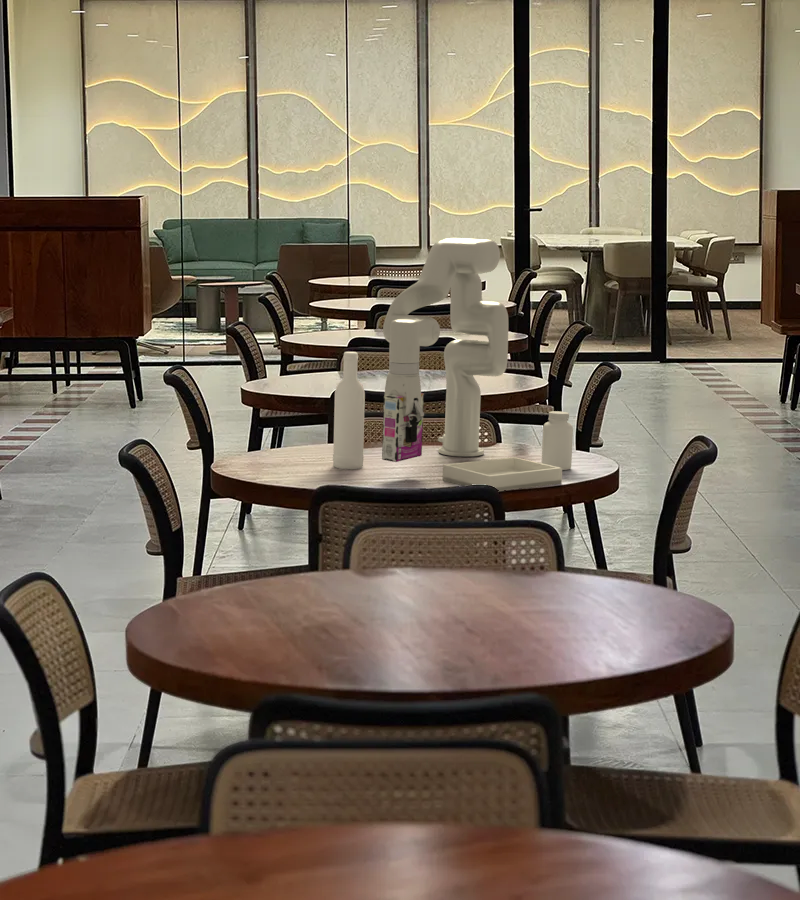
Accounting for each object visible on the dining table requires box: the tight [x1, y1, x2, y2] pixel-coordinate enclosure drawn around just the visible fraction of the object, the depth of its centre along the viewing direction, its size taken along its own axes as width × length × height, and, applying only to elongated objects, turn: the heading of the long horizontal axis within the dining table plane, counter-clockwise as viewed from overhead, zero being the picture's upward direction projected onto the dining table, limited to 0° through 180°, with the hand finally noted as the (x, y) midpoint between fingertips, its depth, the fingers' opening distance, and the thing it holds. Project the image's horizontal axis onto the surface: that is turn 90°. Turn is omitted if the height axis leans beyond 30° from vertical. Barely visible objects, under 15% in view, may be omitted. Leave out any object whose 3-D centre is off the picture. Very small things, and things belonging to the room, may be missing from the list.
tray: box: [442, 456, 563, 492], centre depth 396 cm, size 18×24×4 cm
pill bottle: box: [541, 410, 574, 471], centre depth 417 cm, size 8×8×15 cm
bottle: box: [332, 351, 366, 470], centre depth 408 cm, size 8×8×30 cm
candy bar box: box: [381, 392, 425, 463], centre depth 395 cm, size 11×5×16 cm, turn 144°
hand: (402, 439), depth 396 cm, fingers closed on candy bar box, 6 cm apart
